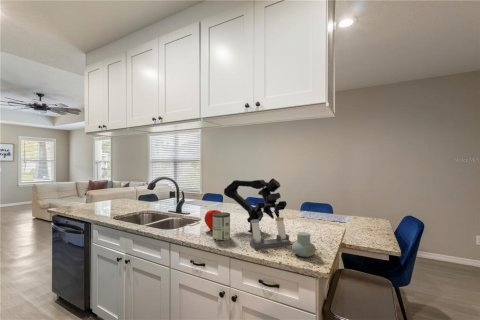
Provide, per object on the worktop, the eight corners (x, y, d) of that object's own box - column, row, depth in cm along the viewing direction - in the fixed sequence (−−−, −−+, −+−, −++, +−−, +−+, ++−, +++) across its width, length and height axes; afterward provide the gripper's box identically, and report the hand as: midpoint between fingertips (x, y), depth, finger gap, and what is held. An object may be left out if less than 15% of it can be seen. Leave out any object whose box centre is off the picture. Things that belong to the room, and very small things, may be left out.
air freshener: (302, 260, 106) (302, 237, 106) (289, 254, 113) (289, 233, 113) (318, 255, 112) (318, 233, 112) (304, 250, 119) (304, 230, 119)
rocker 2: (278, 239, 128) (275, 218, 133) (285, 238, 130) (281, 217, 134) (280, 239, 127) (276, 217, 131) (287, 238, 128) (283, 217, 132)
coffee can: (216, 235, 144) (216, 211, 145) (232, 236, 141) (232, 212, 142) (209, 239, 134) (209, 214, 135) (226, 241, 131) (226, 215, 132)
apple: (201, 231, 151) (201, 210, 152) (209, 227, 162) (209, 207, 163) (218, 233, 148) (218, 211, 148) (225, 228, 159) (225, 208, 159)
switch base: (249, 245, 125) (249, 236, 125) (284, 241, 132) (284, 233, 132) (254, 249, 119) (254, 240, 120) (290, 244, 127) (290, 236, 127)
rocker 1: (253, 242, 123) (250, 220, 127) (260, 241, 125) (257, 219, 129) (254, 242, 122) (251, 219, 126) (262, 241, 123) (258, 219, 127)
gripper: (257, 188, 138) (265, 211, 128) (285, 187, 145) (295, 208, 134) (251, 200, 145) (259, 222, 135) (278, 199, 152) (288, 220, 141)
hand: (276, 218), depth 136 cm, fingers open, 3 cm apart
